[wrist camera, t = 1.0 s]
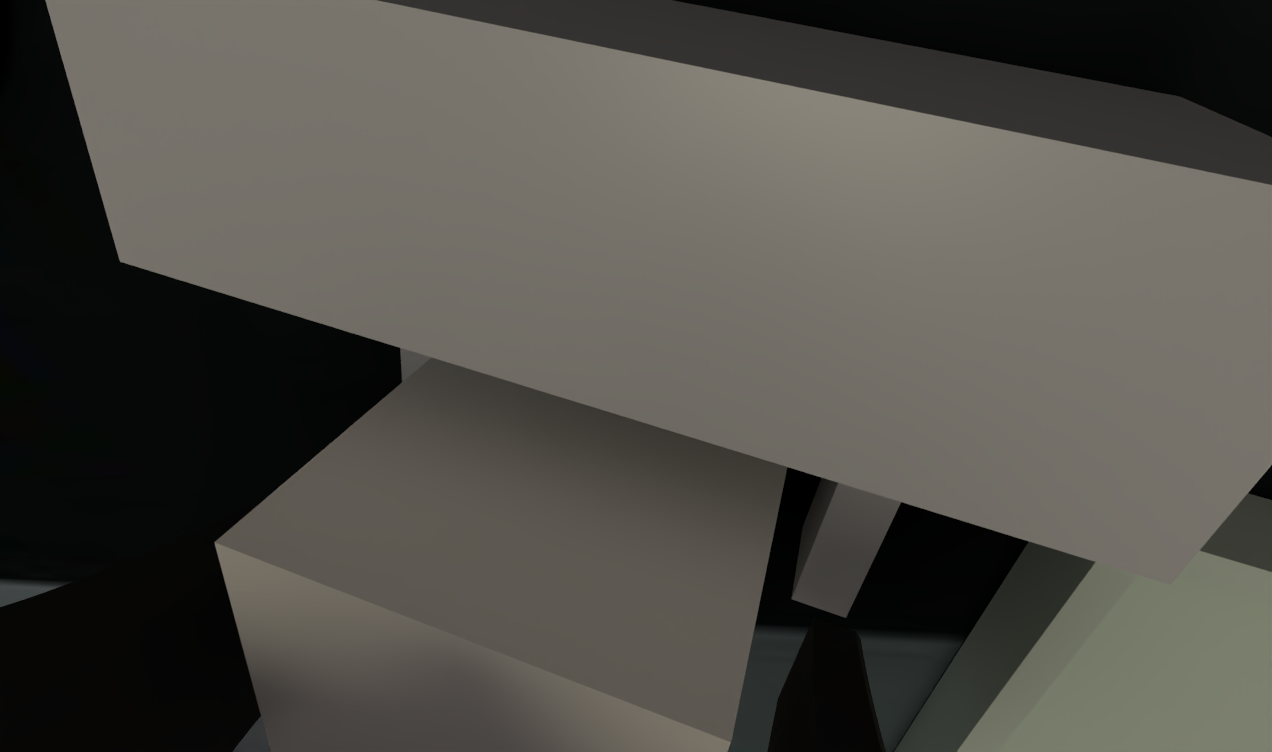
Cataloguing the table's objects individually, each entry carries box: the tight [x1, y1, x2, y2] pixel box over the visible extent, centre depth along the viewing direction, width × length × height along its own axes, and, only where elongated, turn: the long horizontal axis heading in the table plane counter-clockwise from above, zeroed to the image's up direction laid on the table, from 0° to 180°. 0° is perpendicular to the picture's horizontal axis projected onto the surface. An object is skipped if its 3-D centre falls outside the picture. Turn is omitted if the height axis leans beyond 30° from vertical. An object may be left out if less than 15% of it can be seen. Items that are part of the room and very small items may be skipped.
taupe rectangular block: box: [214, 358, 787, 752], centre depth 11 cm, size 8×5×8 cm, turn 172°
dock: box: [46, 0, 1272, 618], centre depth 10 cm, size 9×12×6 cm
